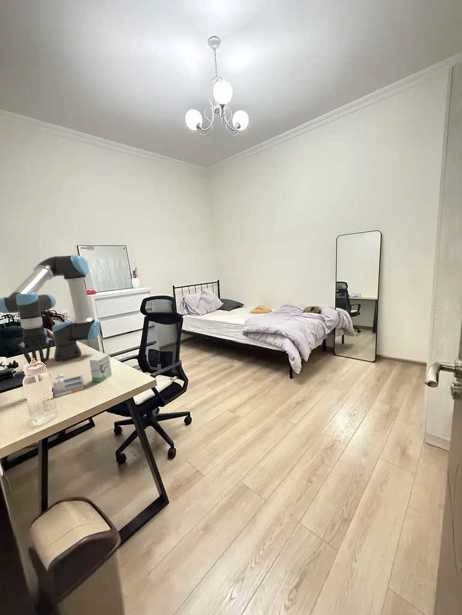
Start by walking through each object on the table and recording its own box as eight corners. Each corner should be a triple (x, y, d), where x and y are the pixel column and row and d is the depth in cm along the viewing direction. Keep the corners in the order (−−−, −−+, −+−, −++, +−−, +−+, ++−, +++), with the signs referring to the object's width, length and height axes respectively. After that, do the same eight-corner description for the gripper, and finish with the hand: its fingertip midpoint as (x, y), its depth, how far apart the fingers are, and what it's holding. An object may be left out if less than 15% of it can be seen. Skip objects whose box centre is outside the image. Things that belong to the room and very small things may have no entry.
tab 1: (57, 383, 122) (55, 373, 121) (64, 381, 123) (62, 371, 122) (57, 386, 118) (55, 376, 117) (64, 384, 120) (62, 374, 119)
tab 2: (57, 388, 116) (55, 378, 115) (64, 386, 117) (62, 376, 117) (57, 392, 113) (55, 381, 112) (65, 390, 114) (63, 379, 113)
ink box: (103, 374, 133) (100, 353, 131) (112, 375, 132) (109, 353, 130) (92, 382, 124) (88, 359, 122) (101, 382, 123) (97, 360, 121)
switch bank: (54, 386, 122) (53, 382, 122) (82, 379, 128) (82, 375, 128) (54, 397, 111) (53, 392, 111) (85, 389, 118) (84, 384, 117)
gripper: (12, 331, 105) (23, 383, 109) (50, 325, 113) (58, 375, 116) (15, 328, 112) (24, 377, 115) (50, 323, 119) (58, 370, 123)
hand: (42, 376), depth 116 cm, fingers closed
